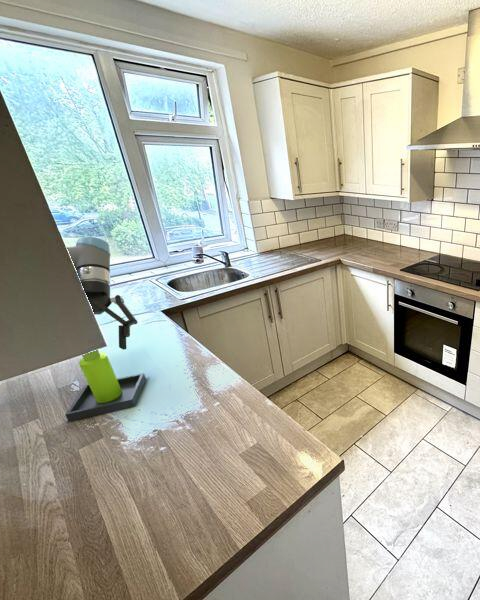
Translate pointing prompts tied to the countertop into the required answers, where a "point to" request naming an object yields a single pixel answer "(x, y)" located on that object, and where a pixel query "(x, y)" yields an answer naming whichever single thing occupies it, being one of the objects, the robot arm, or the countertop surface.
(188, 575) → the countertop surface
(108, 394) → the soap dispenser
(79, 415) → the tray
